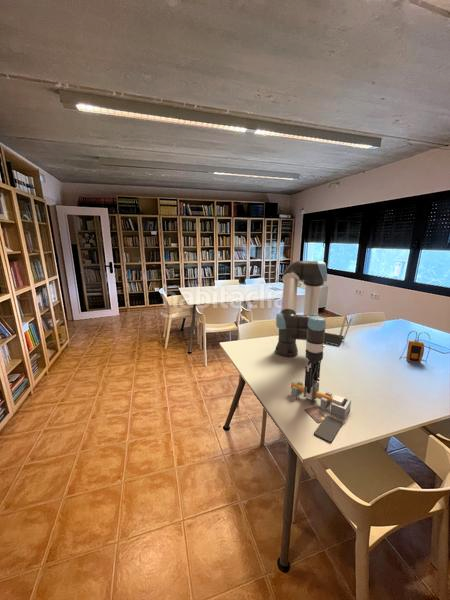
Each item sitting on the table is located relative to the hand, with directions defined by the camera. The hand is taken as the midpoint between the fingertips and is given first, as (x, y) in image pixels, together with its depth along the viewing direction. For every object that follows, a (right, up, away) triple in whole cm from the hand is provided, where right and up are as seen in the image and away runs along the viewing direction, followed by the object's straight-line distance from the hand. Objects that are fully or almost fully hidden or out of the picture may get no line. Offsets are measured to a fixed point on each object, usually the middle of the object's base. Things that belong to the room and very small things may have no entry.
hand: (311, 395), depth 117 cm
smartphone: (+1, -7, -18) cm, 19 cm away
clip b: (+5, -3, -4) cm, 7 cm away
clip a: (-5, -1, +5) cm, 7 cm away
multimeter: (+80, +7, +43) cm, 91 cm away
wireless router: (+40, +15, +79) cm, 89 cm away
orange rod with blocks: (+2, -1, -1) cm, 2 cm away
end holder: (+10, -4, -8) cm, 14 cm away
